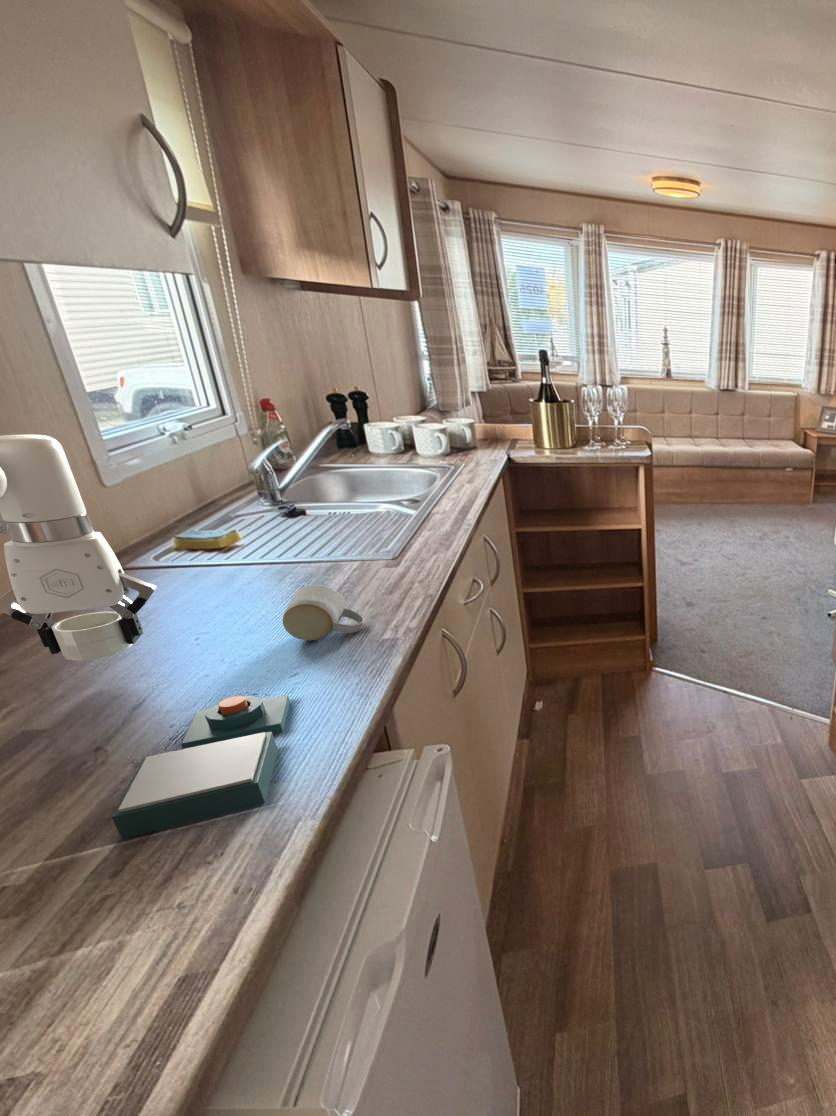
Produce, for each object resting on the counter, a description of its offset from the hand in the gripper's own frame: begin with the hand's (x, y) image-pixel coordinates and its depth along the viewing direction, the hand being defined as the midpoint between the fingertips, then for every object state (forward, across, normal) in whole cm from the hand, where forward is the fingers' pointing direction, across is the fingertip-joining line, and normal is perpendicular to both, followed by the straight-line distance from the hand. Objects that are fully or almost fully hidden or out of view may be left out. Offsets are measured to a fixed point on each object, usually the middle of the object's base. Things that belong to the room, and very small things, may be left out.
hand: (97, 644), depth 93 cm
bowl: (+1, 0, 0) cm, 1 cm away
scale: (+6, +18, -38) cm, 42 cm away
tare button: (+3, +19, -24) cm, 30 cm away
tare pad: (+5, +19, -24) cm, 31 cm away
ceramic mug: (+5, +27, +4) cm, 28 cm away
